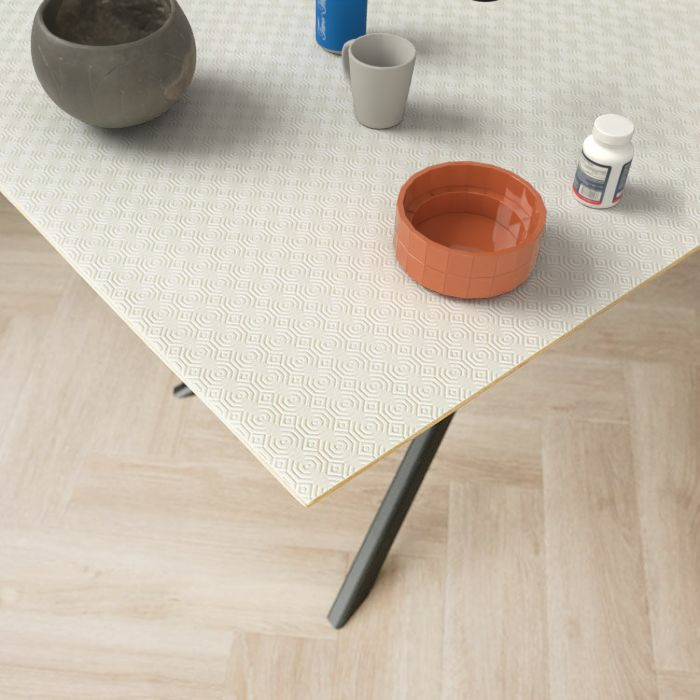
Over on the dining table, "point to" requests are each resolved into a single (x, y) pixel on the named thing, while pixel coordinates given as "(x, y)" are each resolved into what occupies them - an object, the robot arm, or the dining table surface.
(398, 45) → the cup
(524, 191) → the mixing bowl
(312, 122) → the dining table surface
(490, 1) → the black plunger
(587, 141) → the pill bottle
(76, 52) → the bowl
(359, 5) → the beverage can
